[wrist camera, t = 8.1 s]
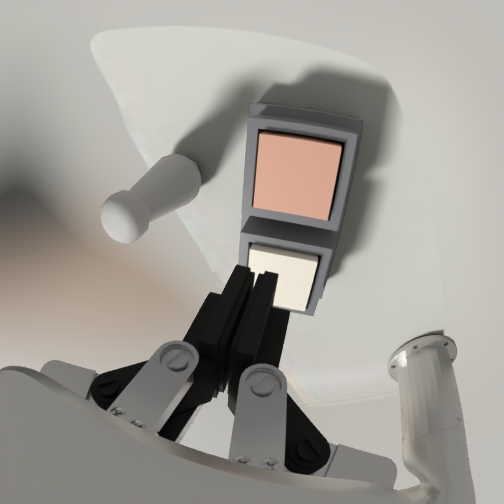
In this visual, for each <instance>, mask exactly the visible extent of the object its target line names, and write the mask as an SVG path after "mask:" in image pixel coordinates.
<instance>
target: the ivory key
mask: <svg viewBox="0 0 504 504" xmlns="http://www.w3.org/2000/svg"><path fill="white" fill-rule="evenodd" d="M317 263H318V255H317V254H312V253H306V252H301V251H296V250H291V249H285V248H280V247H275V246H269V245H264V244H259V243H252V245H251V248H250V253H249V265H248V267H250V268H251V271H252V272H255V279H254V285H255V282H256V279H257V277H258V274H259V273H261V274H264V272H265V271H269V272H274V273H278V274H279V276H278V282H277V287H276V292H275V297H274V303H273V305H274V306H279V307H284V308H289V309H294V310H300V311H305V308H306V305H307V301H308V297H309V294H310V290H311V286H312V282H313V279H314V275H315V271H316V267H317Z"/></svg>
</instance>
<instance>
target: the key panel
mask: <svg viewBox="0 0 504 504" xmlns="http://www.w3.org/2000/svg"><path fill="white" fill-rule="evenodd" d="M362 126H363V121H362V120H360V119H358V118H354V117H349V116H345V115H340V114H335V113H330V112H324V111H318V110H312V109H306V108H299V107H292V106H284V105H276V104H266V103H251V104H250V110H249V117H248V128H247V141H246V155H245V169H244V184H243V199H242V223H241V232H240V247H239V264H238V265H242V266H246V267H248V265H249V253H250V248H251V245H252V243H259V244H264V245H269V246H275V247H280V248H285V249H291V250H296V251H301V252H306V253H312V254H317V255H318V263H317V267H316V271H315V275H314V279H313V282H312V286H311V290H310V294H309V297H308V301H307V305H306V308H305V311H300V310H294V309H289V308H284V307H279V306H274V305H273V307H276V308H281V309H285V310H290V312H294V313H299V314H305V315H310V316H314V313H315V309H316V306H317V303H318V300H319V299H321V298H322V295H323V292H324V289H325V285H326V282H327V278H328V275H329V272H330V268H331V265H332V261H333V257H334V254H335V250H336V246H337V242H338V239H339V235H340V231H341V227H342V223H343V219H344V215H345V210H346V206H347V202H348V198H349V193H350V189H351V184H352V179H353V174H354V169H355V164H356V159H357V154H358V149H359V143H360V138H361V132H362ZM266 129H267V130H275V131H283V132H290V133H296V134H303V135H309V136H315V137H320V138H326V139H331V140H336V141H339V142H340V144H341V146H342V148H341V154H340V160H339V165H338V171H337V176H336V181H335V186H334V191H333V196H332V201H331V206H330V211H329V215H328V220H322V219H316V218H311V217H306V216H300V215H295V214H289V213H284V212H278V211H272V210H266V209H260V208H254V207H253V205H254V193H255V181H256V169H257V158H258V146H259V134H260V133H262V132H263V131H265V130H266Z"/></svg>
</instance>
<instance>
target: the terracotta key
mask: <svg viewBox="0 0 504 504" xmlns="http://www.w3.org/2000/svg"><path fill="white" fill-rule="evenodd" d="M341 148H342V146H341V144H340V142H339V141H336V140H331V139H326V138H320V137H315V136H309V135H303V134H296V133H290V132H283V131H275V130H267V129H266V130H265V131H263V132H262V133H260V134H259V146H258V158H257V169H256V181H255V193H254V205H253V207H254V208H260V209H266V210H272V211H278V212H284V213H289V214H295V215H300V216H306V217H311V218H316V219H322V220H328V215H329V211H330V206H331V201H332V196H333V191H334V186H335V181H336V176H337V171H338V165H339V160H340V154H341Z"/></svg>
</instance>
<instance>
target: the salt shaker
mask: <svg viewBox="0 0 504 504" xmlns="http://www.w3.org/2000/svg"><path fill="white" fill-rule="evenodd" d="M200 186H201V175H200V172H199V169H198V165H197V163H196V162H194V161H192V160H190V159H189V158H187V157H186V156H183V155H178V154H171V155H168V156H165V157H162V158H161V159H160V160H159V161H158V162H157V163H156V164H155V165H154V166H153V167H152V168H151V169H150V170H149V171H148V172H147V173H146V174H145V175H144V176H143V177H142V178H141V179H140V180H139V181H138V182H137V183H136V184H135V185H134V186H133V187H132V188H131V189H130V190H129V191H127V190H123V191H120V192H117V193H114V194H113V195H111V196H110V197H109V198H108V199H107V200H106V201H105V202H104V204H103V205H102V207H101V221H102V225H103V227H104V229H105V230H106V232H107V234H108V235H109V236H111V237H112V238H113V239H114V240H116V241H118V242H122V243H125V244H127V243H133V242H135V241H137V240H138V239H139V238H140V237H141V236H142V235H143V234H144V233H145V232H146V230H147V229H148V226H149V222H151V221H153V220H155V219H157V218H159V217H161V216H163V215H165V214H167V213H169V212H172V211H174V210H176V209H178V208H180V207H182V206H184V205H186V204H188V203H190V202H191V201H192V200H193V199H194V198H195V197H196V196H197V194H198V192H199V189H200Z"/></svg>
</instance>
